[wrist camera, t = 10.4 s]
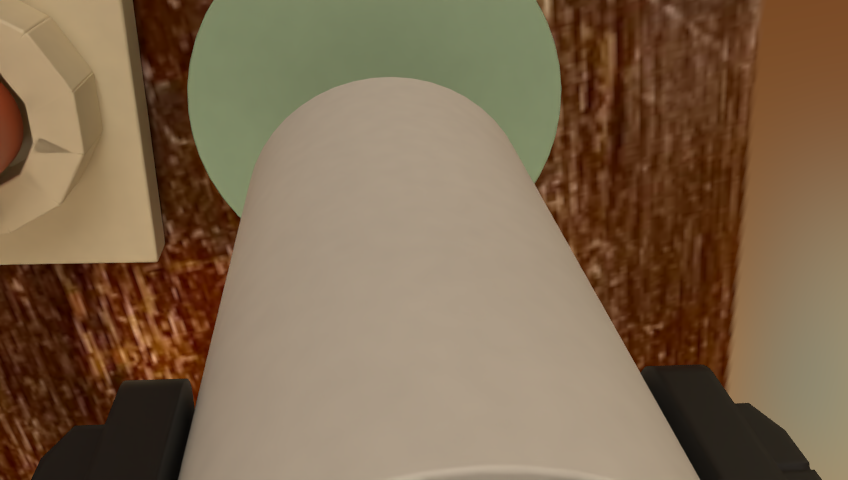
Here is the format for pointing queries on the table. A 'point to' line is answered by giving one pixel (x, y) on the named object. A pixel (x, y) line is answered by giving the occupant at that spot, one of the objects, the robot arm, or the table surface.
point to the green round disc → (364, 69)
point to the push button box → (77, 136)
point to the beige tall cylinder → (413, 313)
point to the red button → (9, 128)
